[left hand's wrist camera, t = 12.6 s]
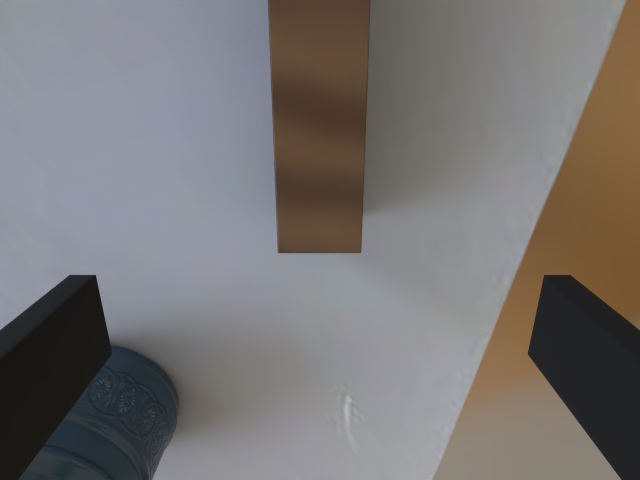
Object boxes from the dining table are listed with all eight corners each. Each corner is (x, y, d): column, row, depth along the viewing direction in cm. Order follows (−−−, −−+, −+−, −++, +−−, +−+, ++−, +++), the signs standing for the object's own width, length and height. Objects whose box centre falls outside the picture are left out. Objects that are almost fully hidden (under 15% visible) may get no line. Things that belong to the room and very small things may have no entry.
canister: (123, 469, 44) (6, 703, 28) (16, 393, 41) (-190, 609, 24) (210, 403, 41) (136, 622, 25) (102, 315, 38) (-67, 502, 21)
